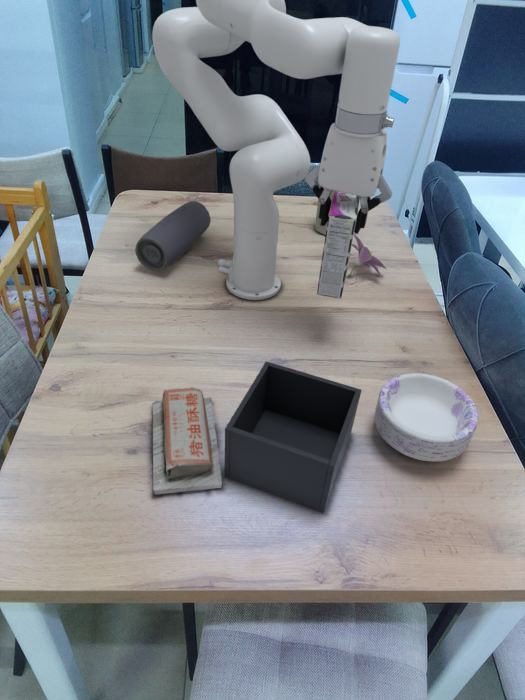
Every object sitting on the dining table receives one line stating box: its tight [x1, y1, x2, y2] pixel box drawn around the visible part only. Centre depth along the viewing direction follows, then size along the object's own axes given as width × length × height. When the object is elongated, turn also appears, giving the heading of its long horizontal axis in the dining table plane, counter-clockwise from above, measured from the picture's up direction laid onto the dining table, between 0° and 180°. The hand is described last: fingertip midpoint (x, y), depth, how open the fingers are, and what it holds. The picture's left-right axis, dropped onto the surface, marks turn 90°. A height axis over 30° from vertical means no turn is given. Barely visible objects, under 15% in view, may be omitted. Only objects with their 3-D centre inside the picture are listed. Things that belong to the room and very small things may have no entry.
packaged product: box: [152, 387, 223, 496], centre depth 78 cm, size 18×5×10 cm
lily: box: [348, 233, 387, 278], centre depth 121 cm, size 12×12×10 cm
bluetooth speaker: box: [134, 200, 212, 272], centre depth 123 cm, size 23×9×10 cm, turn 159°
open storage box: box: [224, 360, 362, 513], centre depth 76 cm, size 16×16×11 cm
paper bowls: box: [374, 372, 479, 462], centre depth 81 cm, size 15×15×8 cm
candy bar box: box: [316, 191, 360, 300], centre depth 93 cm, size 11×5×16 cm, turn 168°
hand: (341, 225), depth 91 cm, fingers closed on candy bar box, 5 cm apart
